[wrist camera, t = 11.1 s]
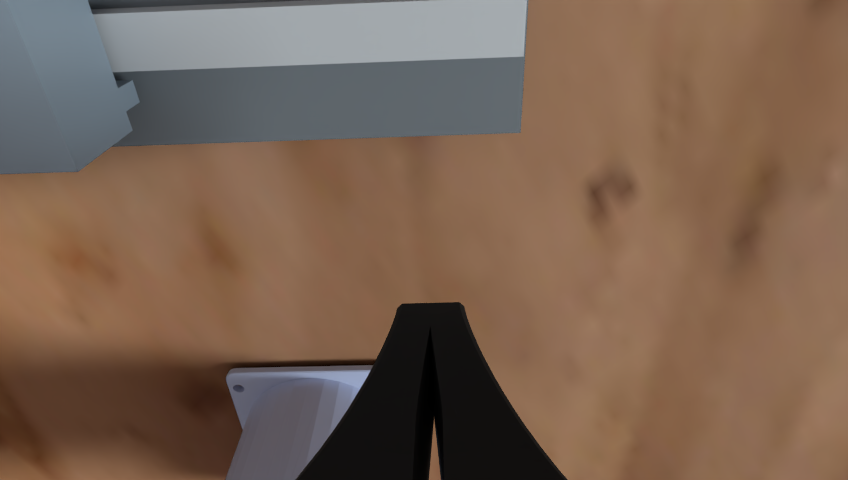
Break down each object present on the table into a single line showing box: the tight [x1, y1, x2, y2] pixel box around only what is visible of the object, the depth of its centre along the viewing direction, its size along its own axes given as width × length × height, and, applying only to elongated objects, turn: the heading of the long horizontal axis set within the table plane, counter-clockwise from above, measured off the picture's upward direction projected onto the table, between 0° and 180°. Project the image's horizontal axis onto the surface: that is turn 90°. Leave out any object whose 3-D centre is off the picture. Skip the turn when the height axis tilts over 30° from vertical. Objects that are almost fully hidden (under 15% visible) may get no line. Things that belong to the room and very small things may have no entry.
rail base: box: [88, 0, 528, 147], centre depth 16 cm, size 7×20×2 cm, turn 92°
